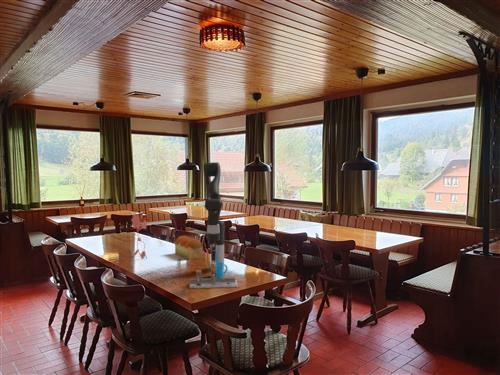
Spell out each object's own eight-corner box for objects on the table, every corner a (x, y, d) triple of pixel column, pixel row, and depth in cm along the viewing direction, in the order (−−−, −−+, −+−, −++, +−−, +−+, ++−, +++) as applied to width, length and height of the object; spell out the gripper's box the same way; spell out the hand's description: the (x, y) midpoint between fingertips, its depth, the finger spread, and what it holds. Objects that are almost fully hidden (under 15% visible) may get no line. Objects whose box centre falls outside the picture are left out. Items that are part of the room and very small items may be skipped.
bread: (202, 257, 297) (202, 239, 297) (188, 260, 290) (188, 240, 289) (188, 252, 318) (188, 234, 317) (174, 254, 310) (174, 236, 310)
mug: (215, 278, 240) (215, 266, 240) (208, 275, 247) (208, 263, 246) (230, 275, 247) (230, 263, 247) (223, 272, 254) (223, 260, 254)
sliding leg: (211, 279, 232) (211, 262, 231) (216, 279, 232) (216, 262, 231) (211, 283, 224) (211, 266, 223) (216, 282, 224) (216, 265, 223)
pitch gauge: (190, 283, 230) (190, 270, 230) (236, 282, 233) (236, 269, 233) (189, 288, 220) (189, 274, 220) (237, 287, 223) (237, 273, 223)
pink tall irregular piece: (136, 254, 308) (135, 211, 305) (153, 259, 289) (152, 214, 287) (118, 257, 297) (117, 213, 295) (134, 263, 279) (133, 216, 276)
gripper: (207, 230, 235) (207, 256, 236) (207, 234, 221) (207, 261, 222) (219, 230, 236) (219, 256, 236) (220, 233, 222) (219, 261, 222)
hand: (213, 258), depth 229 cm, fingers open, 8 cm apart
